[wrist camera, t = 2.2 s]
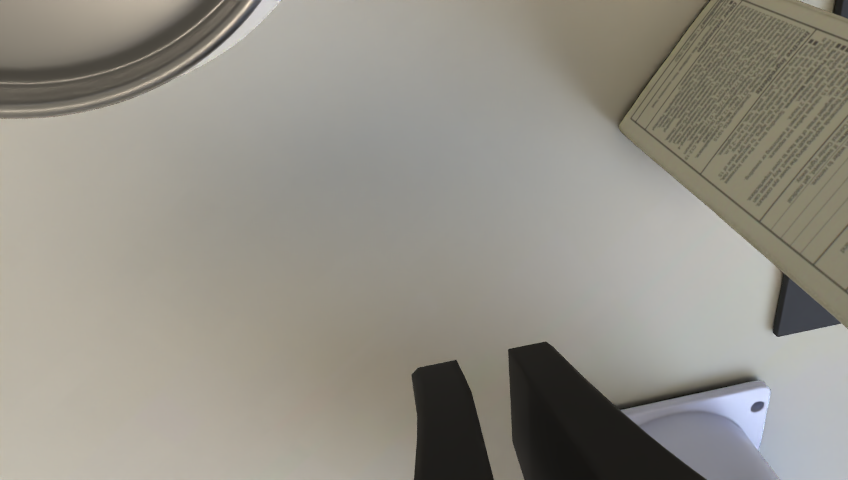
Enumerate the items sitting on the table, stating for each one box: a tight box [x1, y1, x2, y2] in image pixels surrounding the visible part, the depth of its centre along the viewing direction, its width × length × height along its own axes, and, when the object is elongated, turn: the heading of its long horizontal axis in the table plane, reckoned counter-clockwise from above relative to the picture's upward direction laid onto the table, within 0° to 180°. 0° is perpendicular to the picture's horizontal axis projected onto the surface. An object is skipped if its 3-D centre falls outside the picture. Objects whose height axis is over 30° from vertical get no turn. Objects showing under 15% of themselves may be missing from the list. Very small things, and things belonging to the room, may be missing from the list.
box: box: [619, 0, 848, 329], centre depth 17 cm, size 5×4×11 cm
